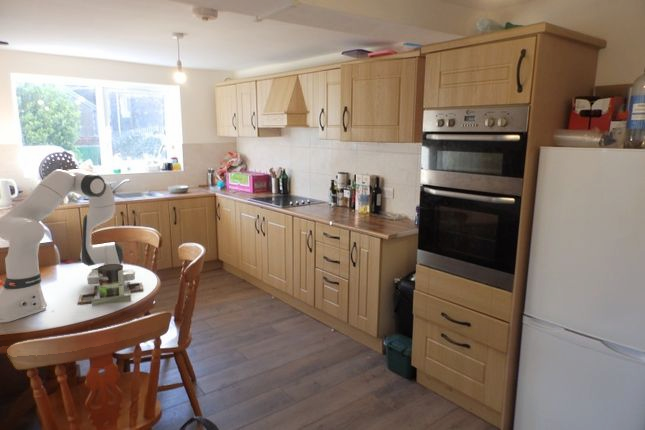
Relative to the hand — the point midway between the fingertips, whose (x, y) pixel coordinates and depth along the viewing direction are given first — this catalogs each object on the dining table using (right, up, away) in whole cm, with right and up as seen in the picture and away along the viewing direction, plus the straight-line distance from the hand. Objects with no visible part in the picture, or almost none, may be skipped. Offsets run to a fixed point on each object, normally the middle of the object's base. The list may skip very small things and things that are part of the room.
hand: (111, 282), depth 197 cm
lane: (+1, -6, -1) cm, 6 cm away
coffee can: (+2, -6, -3) cm, 8 cm away
